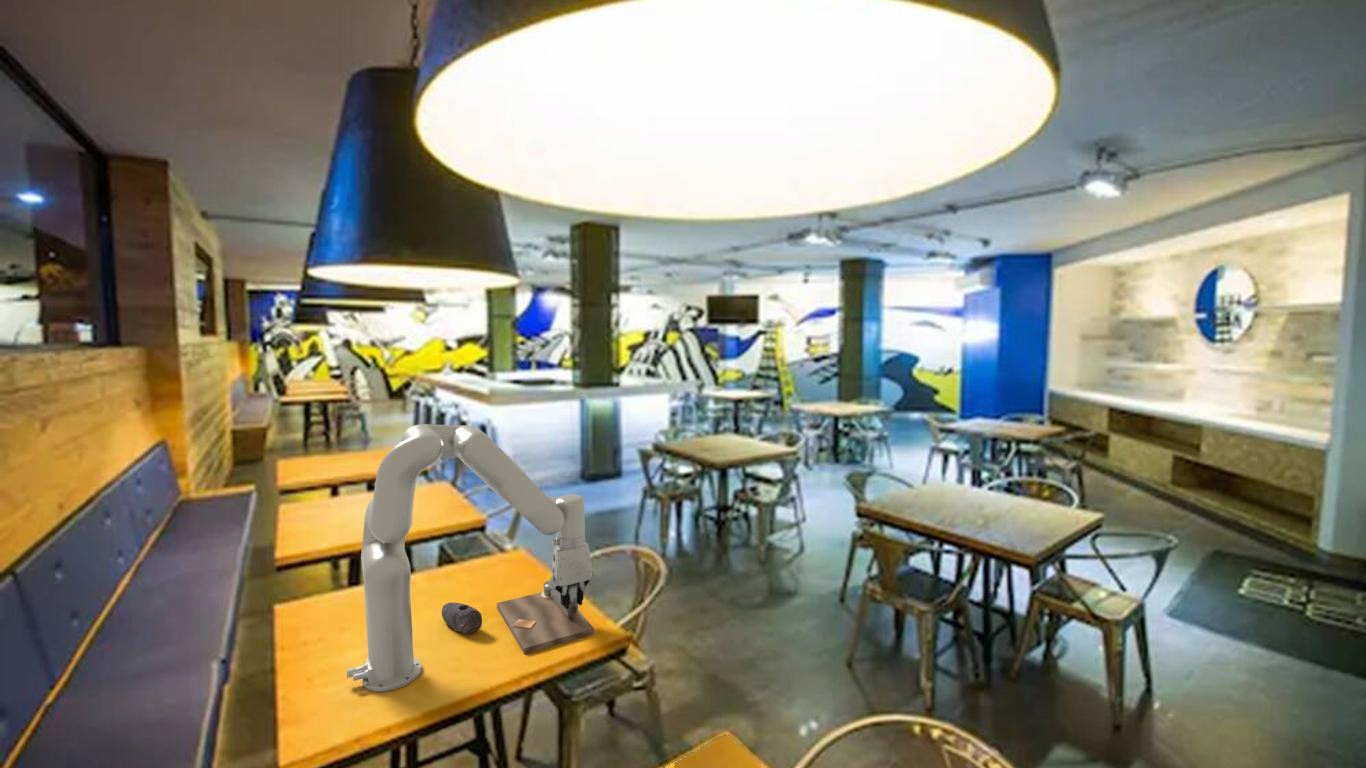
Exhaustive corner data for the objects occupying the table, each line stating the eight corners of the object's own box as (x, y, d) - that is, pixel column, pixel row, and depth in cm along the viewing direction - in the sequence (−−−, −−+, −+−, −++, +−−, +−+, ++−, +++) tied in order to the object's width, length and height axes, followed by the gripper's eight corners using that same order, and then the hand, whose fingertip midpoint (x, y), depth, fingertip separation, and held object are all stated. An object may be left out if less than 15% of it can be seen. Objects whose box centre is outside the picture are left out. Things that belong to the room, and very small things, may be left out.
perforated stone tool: (435, 623, 165) (434, 600, 164) (452, 616, 169) (451, 593, 169) (467, 641, 156) (466, 616, 156) (484, 632, 161) (483, 608, 160)
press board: (524, 654, 150) (524, 647, 150) (496, 608, 174) (496, 602, 174) (594, 633, 160) (594, 627, 160) (559, 592, 184) (559, 587, 183)
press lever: (566, 622, 161) (566, 582, 160) (541, 591, 180) (540, 554, 178) (582, 618, 163) (581, 578, 162) (555, 587, 182) (555, 552, 181)
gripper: (545, 551, 154) (547, 618, 156) (604, 539, 162) (605, 603, 164) (537, 542, 160) (538, 606, 162) (593, 530, 169) (594, 592, 171)
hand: (572, 604), depth 163 cm, fingers closed on press lever, 3 cm apart
